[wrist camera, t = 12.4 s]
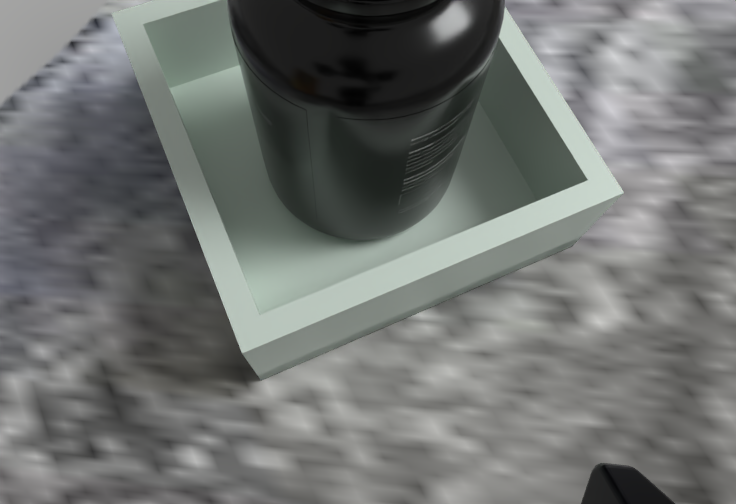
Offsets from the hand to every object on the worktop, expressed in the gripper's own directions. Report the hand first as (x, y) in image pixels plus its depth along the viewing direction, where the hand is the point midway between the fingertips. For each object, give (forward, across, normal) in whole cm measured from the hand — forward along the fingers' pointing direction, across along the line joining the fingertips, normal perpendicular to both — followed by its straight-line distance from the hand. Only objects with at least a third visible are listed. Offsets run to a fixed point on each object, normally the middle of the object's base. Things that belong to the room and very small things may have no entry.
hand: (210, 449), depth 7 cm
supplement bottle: (+17, -1, +1) cm, 17 cm away
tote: (+18, -1, +2) cm, 18 cm away
